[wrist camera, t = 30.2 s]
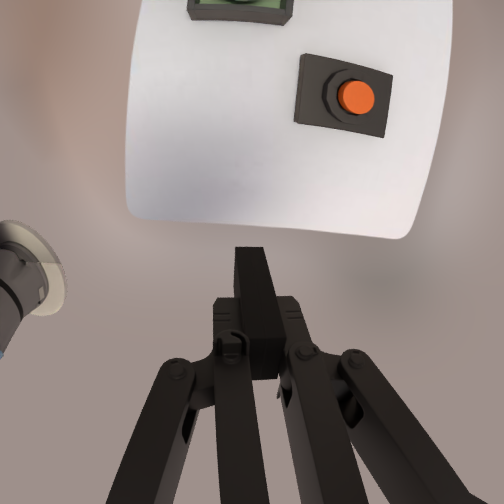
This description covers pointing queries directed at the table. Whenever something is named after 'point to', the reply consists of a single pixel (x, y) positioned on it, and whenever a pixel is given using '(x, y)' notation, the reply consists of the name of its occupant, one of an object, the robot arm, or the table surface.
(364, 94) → the button
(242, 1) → the cup
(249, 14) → the tray
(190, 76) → the table surface
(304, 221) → the table surface
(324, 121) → the button box
